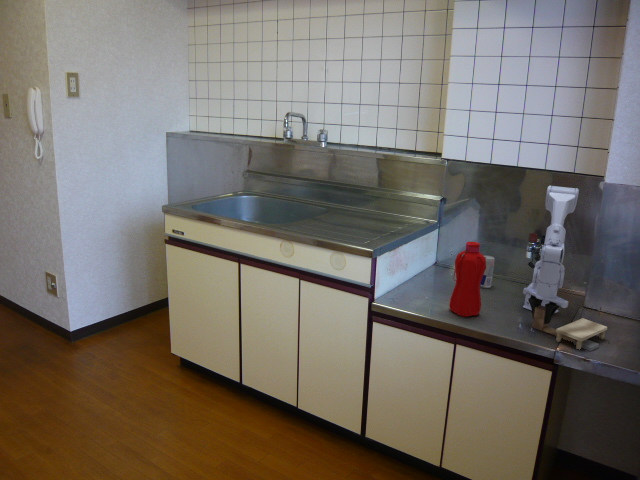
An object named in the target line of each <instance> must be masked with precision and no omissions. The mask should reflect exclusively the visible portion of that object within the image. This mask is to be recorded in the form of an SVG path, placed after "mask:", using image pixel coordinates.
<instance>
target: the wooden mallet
mask: <svg viewBox="0 0 640 480" xmlns="http://www.w3.org/2000/svg"><path fill="white" fill-rule="evenodd" d="M544 319H545V306H542V305H540V306H537V307H535V312H534V318H533V317H532V326H531V328H534V329H536V330H539V331H540V332H545V333H548V334H551V335H553V336H555V337H557V332H556V329H557V328H556V329H555V328H554V327H550V326H549V324H550V323H548V324H544ZM562 338H563V339H562ZM561 339H562V340H566V341H567V340H568V341H567V342H570V341H571V343H572V342H573V344H574V343H575V341H577V340H576V339H573V338H571V337H568V336H566V335H563V334H562V337H561Z"/></svg>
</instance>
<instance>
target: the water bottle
mask: <svg viewBox="0 0 640 480" xmlns="http://www.w3.org/2000/svg"><path fill="white" fill-rule="evenodd" d="M480 247H481V244H480V242H477V241H467V242H466V244H465V250H461V252H459V253H458V254H457V255H456V258H455V260H454V272H453V273H454V274H453V276H452V277H453V281H454V282H455V285H454V288H453V291H452V293H451V296H450V299H449V304H448V305H449V310H450V311H451V312H453V313H455V314H456V315H458V316H459V317H465V318H467V317H472V316H479V315H480V312H481V308H482V299H481V297H482V296H481V287H480V283H481V280H482V277H483V275H484V272H485V270H486V258H485V257H484V256H483V254H482V253H481V252H480ZM455 276H456V277H455ZM455 278H456V279H455Z"/></svg>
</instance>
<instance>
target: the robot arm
mask: <svg viewBox="0 0 640 480" xmlns="http://www.w3.org/2000/svg"><path fill="white" fill-rule="evenodd" d="M579 192H580V189H579V188H578V187H575V188H573V187H564V186H556V185H549V186H547V189H546V193H545V194H546V196H545V210H547V211H549V212H550V215H551V220H550V225H549V226H548V227H546V230H545V231H546V232H545V238H544V243H543V246H542V247H541V252H540V259H539V260H537V261H536V263H535V265H534V269H533V274H532V281H531V283H530V284H528V286H527V287H524V288H523V291H522V294H523V295H525V297H524V304H523V306H522V308H524V309H527V310H529V311H531V314H532V316H531V317H532V319H533V318H534V312H535V307H537V306H540V305H542V306H545V319H544V324H548V323H549V324H550V322H551V321H552V318H553V316H554V315H555V314H557V313H559V310H558V309H559V308H560V307H561V308H563V309H565V308H568V306H569V301H568V300H566V299H563V298H561V296H560V297H559V296H557V295H558V294H557V293H558V291H559V289H561V288H562V287H563V284H564V278H565V269H566V267H565V265H564V264H563V262H564V256H565V241H566V233H567V230H566V228H565V227H564V223H565V219H566V218H567V215H568V214H572V213H574V211H575V210H576V206H577V204H578V203H577V202H578V198H579ZM560 261H561V262H560ZM549 324H548V325H549Z"/></svg>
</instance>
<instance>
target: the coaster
mask: <svg viewBox="0 0 640 480" xmlns="http://www.w3.org/2000/svg"><path fill="white" fill-rule="evenodd" d="M576 344H577V341H575V343H573V346H575V345H576ZM599 346H600V343H597V342H595V341H592V340H590V339H586V340H584V341H582V346H581V347H582V348H581V349H583V348H584V349H583V350H585V349H586V350H585V351H588V352H592V351H594V350H596V349H598V348H599Z"/></svg>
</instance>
